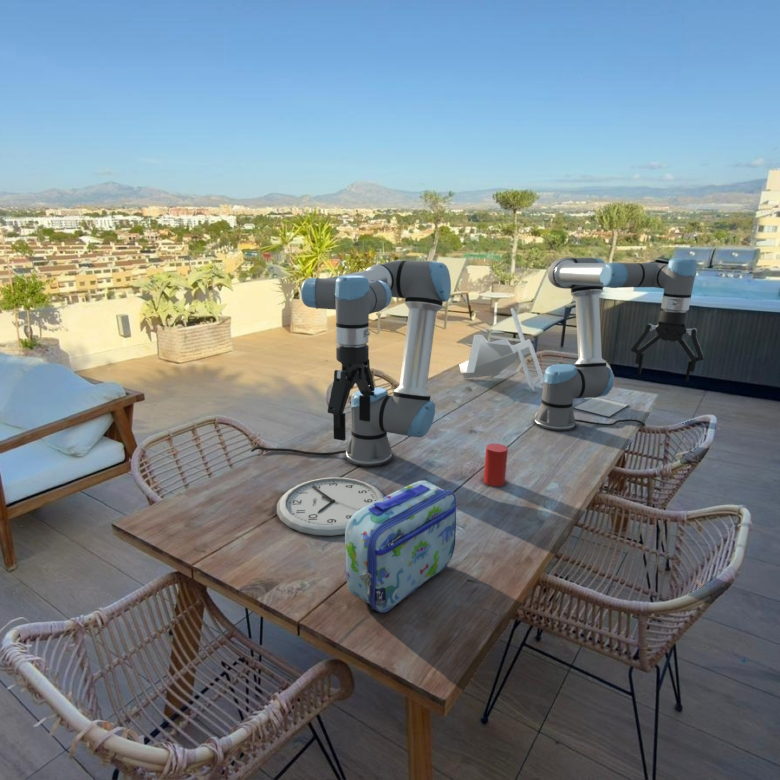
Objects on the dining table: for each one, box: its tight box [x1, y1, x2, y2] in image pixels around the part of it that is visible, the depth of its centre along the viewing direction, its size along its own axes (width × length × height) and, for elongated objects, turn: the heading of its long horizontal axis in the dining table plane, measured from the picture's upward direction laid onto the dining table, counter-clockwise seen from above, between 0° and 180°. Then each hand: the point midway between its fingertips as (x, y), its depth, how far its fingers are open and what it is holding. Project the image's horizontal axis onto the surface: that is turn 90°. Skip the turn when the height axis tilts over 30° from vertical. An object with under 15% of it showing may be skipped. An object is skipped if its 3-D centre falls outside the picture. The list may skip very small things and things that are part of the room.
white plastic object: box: [458, 307, 544, 393], centre depth 256 cm, size 37×45×31 cm
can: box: [483, 443, 509, 487], centre depth 156 cm, size 6×6×11 cm
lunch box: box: [344, 480, 457, 614], centre depth 109 cm, size 26×11×21 cm, turn 135°
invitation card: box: [573, 397, 629, 418], centre depth 226 cm, size 21×1×15 cm
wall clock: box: [276, 476, 386, 537], centre depth 142 cm, size 30×2×30 cm
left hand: (352, 429), depth 127 cm, fingers open, 13 cm apart
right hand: (662, 377), depth 166 cm, fingers open, 13 cm apart
